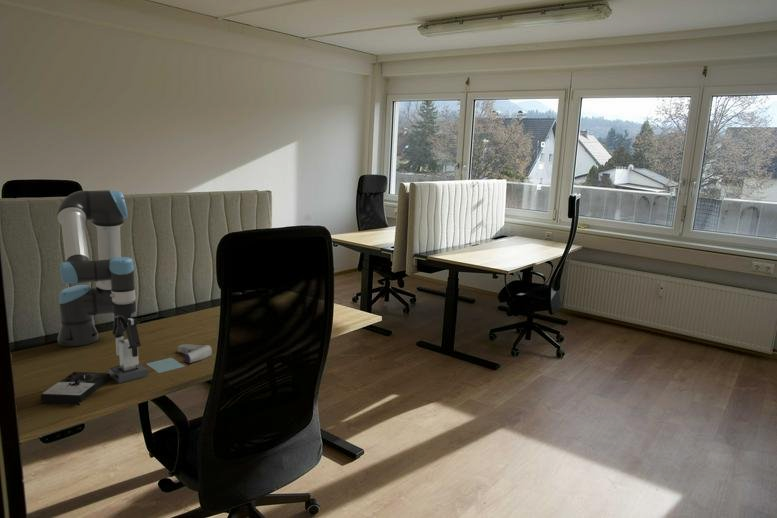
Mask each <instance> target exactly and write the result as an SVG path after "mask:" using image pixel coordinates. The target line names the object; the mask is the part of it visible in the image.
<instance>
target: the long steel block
mask: <svg viewBox="0 0 777 518" xmlns="http://www.w3.org/2000/svg"><path fill="white" fill-rule="evenodd" d="M118 343H119V355H118V356H119V366H120V371H121V372H122V373H125V372H129V371H133V370H136V365H133V366H130V355H129V349H128V347H129V346H130V345H129V341H128V338H126V339H125V338H124V340H119V341H118Z"/></svg>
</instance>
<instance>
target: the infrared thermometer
mask: <svg viewBox="0 0 777 518" xmlns="http://www.w3.org/2000/svg"><path fill="white" fill-rule="evenodd" d="M177 353H182V354H184V360H185V362H186V363H187V364H191V363H194V362H198V361H201V360H202V361H203V360H204V359H207V358H209V357H211V356H212V354H213V349H212V346H211V345H210V344H204V345H202V344H201V345H200V344H199V345H198V344H191V343H183V344H180V345H177Z"/></svg>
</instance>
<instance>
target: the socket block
mask: <svg viewBox="0 0 777 518" xmlns="http://www.w3.org/2000/svg"><path fill="white" fill-rule="evenodd" d="M148 369H149V368H146V367H145V366H144V365H142V363H140V362H139V364H137V365H136V370H133V371H129V372H125V373H122V372H121V371H120V365H116V366H111V367H109V368H108V373H109V374H110V378H112V379H113V380H114V381H116V382H117V383H118V384H122V383H126V382H130V381H134V380H137V379H138V380H139V379H142V378H146V377H148V376H149V371H148Z"/></svg>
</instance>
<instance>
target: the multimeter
mask: <svg viewBox="0 0 777 518" xmlns="http://www.w3.org/2000/svg"><path fill="white" fill-rule="evenodd" d="M109 381H111V376H110V374H109V372H87V371H84V372H83V371H73V372H72V373H70V374H68V375H67V376H66V377H64V378H63V379H62V380H60V381H59V382H57V383H55V384H54V385H52V386H51V387H50V388H48V389H46V390H45V391H43V392H42V393H41V394H40V403H41V402H42V403H52V404H51V405H61V404H69V406H81V404H80V403H82V402H83V401H85V400H86V399H87V398H88V397H89V396H91V395H92V394H93V393H95V392H96V391H97V390H99V389H100V388H101V387H102V386H104V385H105V384H106V383H108V382H109ZM42 403H41V404H42Z"/></svg>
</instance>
